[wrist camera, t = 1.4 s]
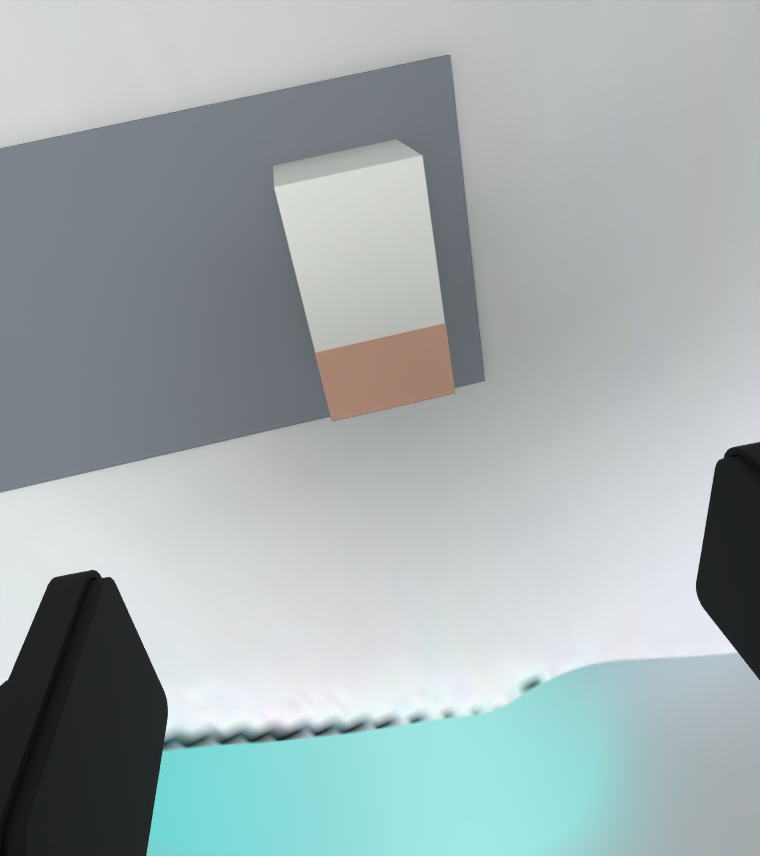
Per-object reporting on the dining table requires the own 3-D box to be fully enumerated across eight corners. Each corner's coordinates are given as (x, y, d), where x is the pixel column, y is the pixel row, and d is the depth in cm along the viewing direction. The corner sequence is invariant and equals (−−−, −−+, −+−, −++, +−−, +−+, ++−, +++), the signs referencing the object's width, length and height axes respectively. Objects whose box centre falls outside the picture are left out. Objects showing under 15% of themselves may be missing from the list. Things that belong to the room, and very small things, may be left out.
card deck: (397, 139, 26) (423, 155, 22) (428, 345, 30) (455, 393, 26) (272, 165, 26) (273, 187, 21) (322, 369, 30) (332, 421, 26)
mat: (447, 54, 25) (450, 54, 25) (482, 377, 32) (484, 380, 32) (-184, 186, 24) (-191, 188, 24) (-4, 489, 31) (-7, 494, 31)
